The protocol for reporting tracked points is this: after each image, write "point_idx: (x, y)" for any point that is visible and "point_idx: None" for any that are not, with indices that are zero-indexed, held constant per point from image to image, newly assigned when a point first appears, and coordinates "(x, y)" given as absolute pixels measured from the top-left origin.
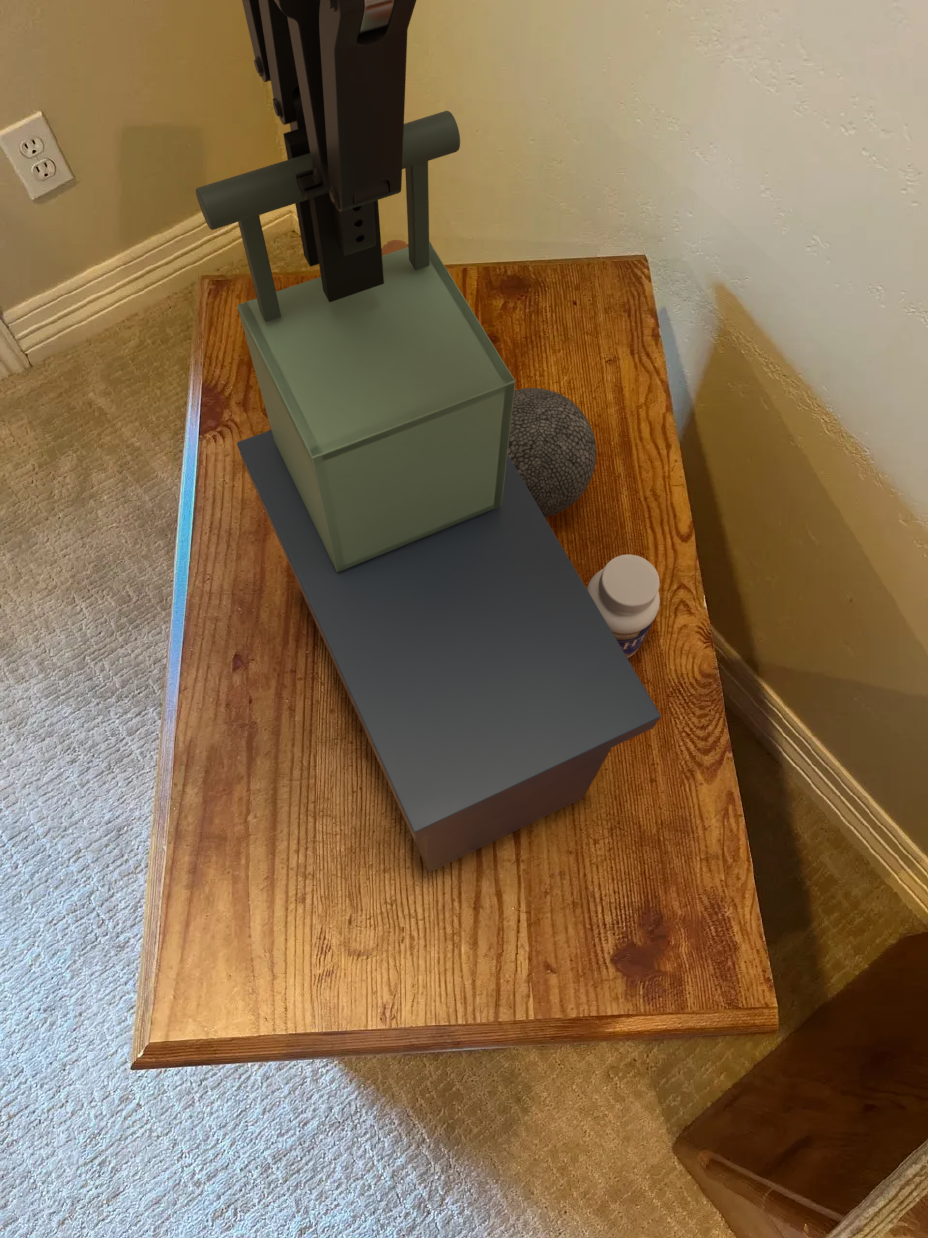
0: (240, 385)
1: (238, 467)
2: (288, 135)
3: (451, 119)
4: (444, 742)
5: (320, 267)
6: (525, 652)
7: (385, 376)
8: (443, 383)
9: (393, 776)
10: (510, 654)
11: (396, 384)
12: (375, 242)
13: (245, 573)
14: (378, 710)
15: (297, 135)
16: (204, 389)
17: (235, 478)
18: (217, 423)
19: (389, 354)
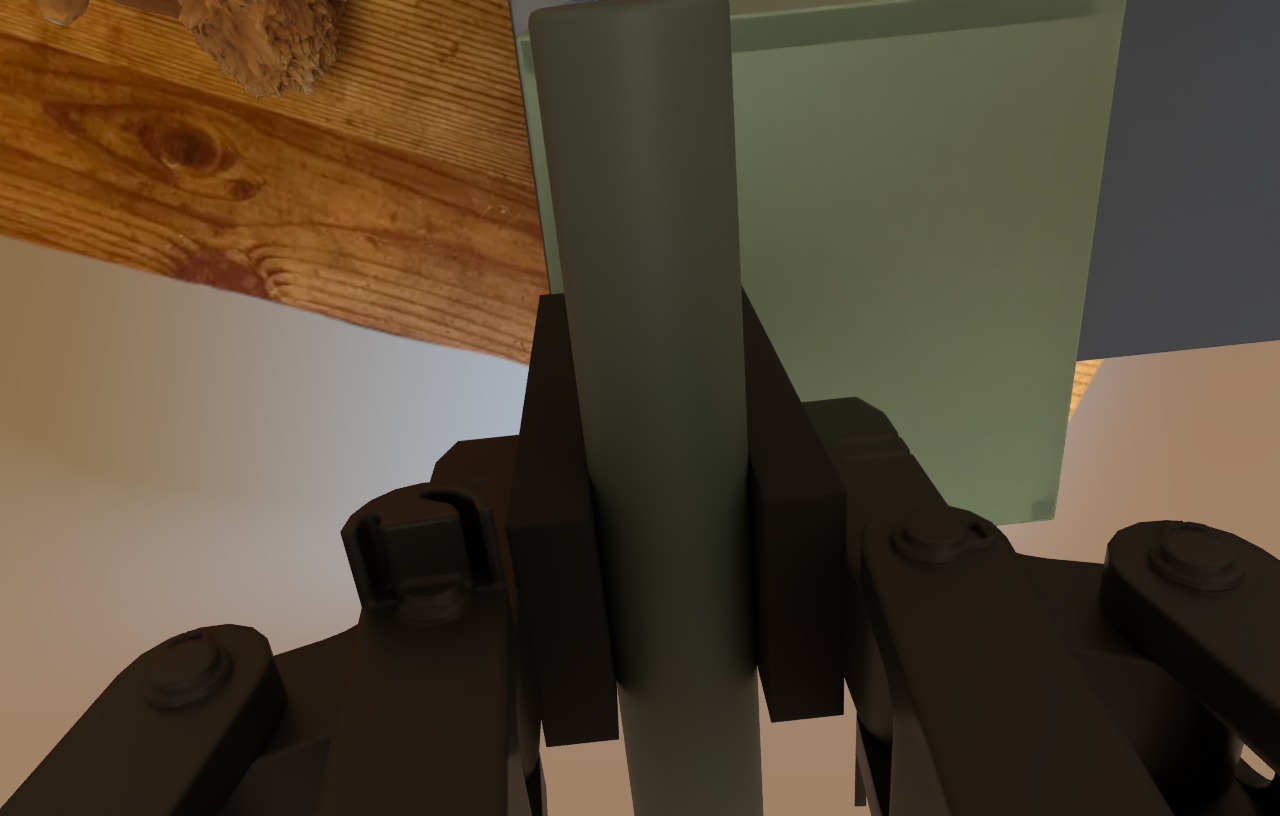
0: (178, 221)
1: (342, 262)
2: (564, 734)
3: (668, 27)
4: (1235, 250)
5: None
6: (1187, 55)
7: (934, 316)
8: (1028, 183)
9: (1232, 338)
10: (1175, 85)
11: (971, 299)
12: (875, 408)
13: (527, 295)
14: (1130, 329)
15: (576, 709)
16: (179, 277)
17: (362, 271)
18: (251, 273)
19: (877, 287)
